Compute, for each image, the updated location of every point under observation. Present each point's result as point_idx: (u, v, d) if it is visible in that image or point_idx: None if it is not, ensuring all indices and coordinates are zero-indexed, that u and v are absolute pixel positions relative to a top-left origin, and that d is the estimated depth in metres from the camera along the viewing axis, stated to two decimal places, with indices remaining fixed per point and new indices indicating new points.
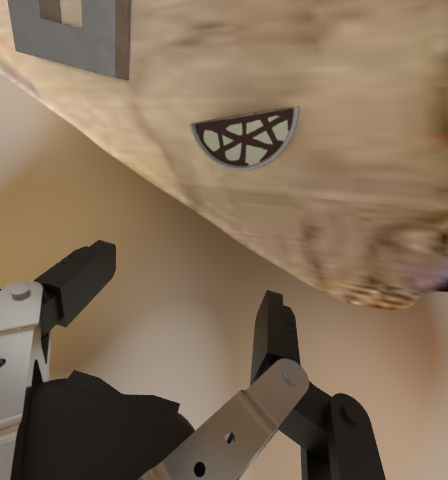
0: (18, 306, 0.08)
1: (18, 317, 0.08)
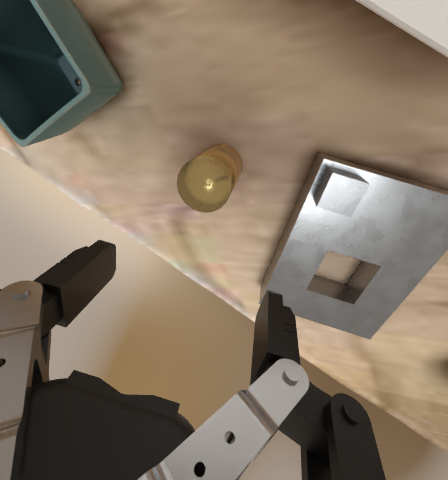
0: (18, 305, 0.08)
1: (18, 317, 0.08)
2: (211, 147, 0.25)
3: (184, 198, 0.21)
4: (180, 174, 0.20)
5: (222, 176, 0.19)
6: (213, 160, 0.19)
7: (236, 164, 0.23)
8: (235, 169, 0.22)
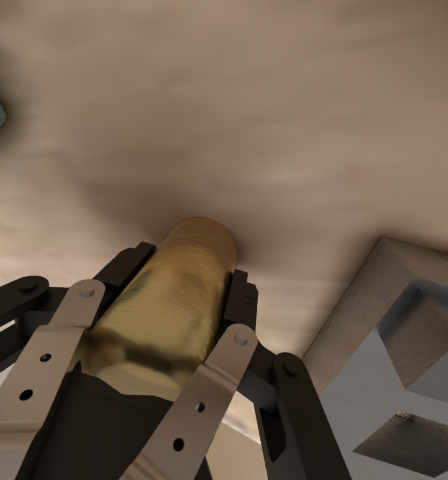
0: (81, 302, 0.09)
1: (77, 314, 0.08)
2: (178, 229, 0.13)
3: None
4: None
5: (186, 361, 0.08)
6: (160, 325, 0.07)
7: (225, 273, 0.12)
8: (222, 293, 0.11)
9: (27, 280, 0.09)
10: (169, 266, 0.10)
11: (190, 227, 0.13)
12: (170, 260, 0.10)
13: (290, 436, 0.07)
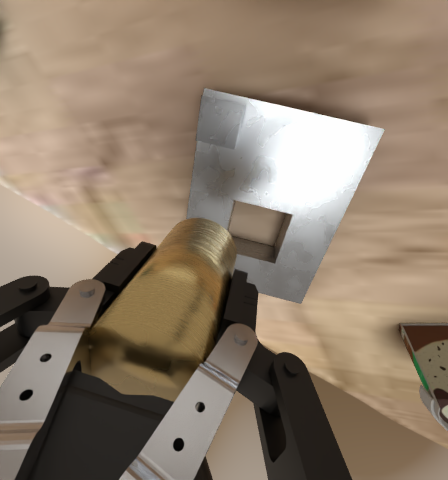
0: (81, 302, 0.09)
1: (77, 314, 0.08)
2: (178, 229, 0.13)
3: None
4: None
5: (184, 361, 0.08)
6: (159, 325, 0.07)
7: (224, 273, 0.12)
8: (221, 293, 0.11)
9: (27, 280, 0.09)
10: (168, 266, 0.10)
11: (189, 227, 0.13)
12: (169, 260, 0.10)
13: (290, 436, 0.07)
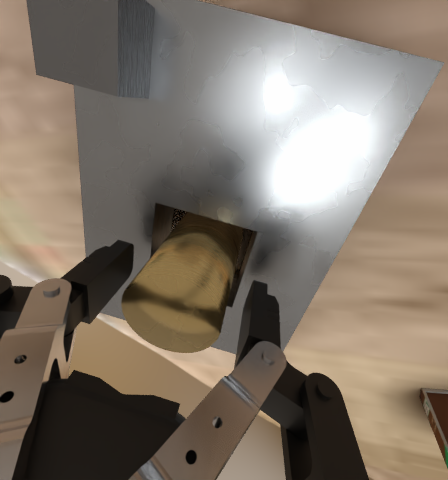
0: (47, 302, 0.08)
1: (45, 314, 0.08)
2: None
3: (138, 330, 0.11)
4: (125, 296, 0.10)
5: (206, 306, 0.10)
6: (186, 276, 0.09)
7: (233, 247, 0.14)
8: (231, 262, 0.13)
9: None
10: (188, 238, 0.12)
11: None
12: (188, 234, 0.12)
13: (316, 462, 0.06)
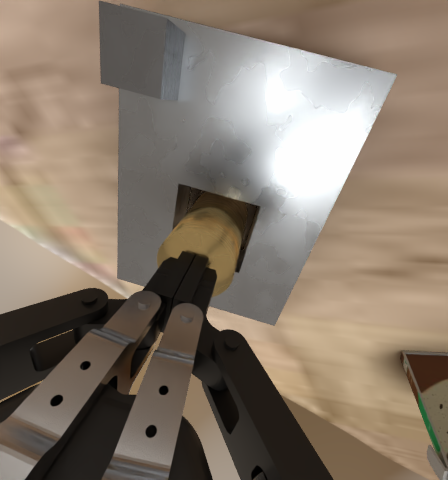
0: (135, 314, 0.09)
1: (128, 325, 0.08)
2: (206, 194, 0.18)
3: None
4: (160, 251, 0.13)
5: (222, 256, 0.13)
6: (208, 233, 0.13)
7: (240, 220, 0.17)
8: (240, 230, 0.16)
9: (90, 293, 0.09)
10: (206, 210, 0.15)
11: None
12: (206, 207, 0.16)
13: (241, 407, 0.07)
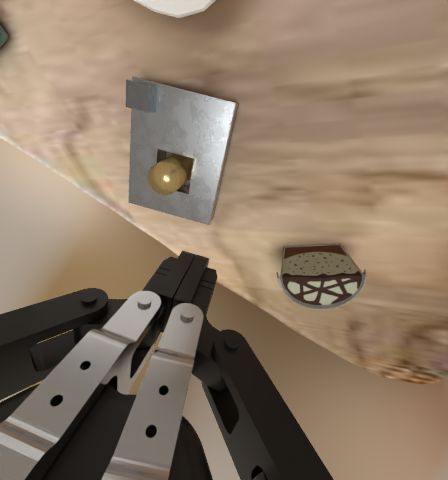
0: (135, 314, 0.09)
1: (128, 325, 0.08)
2: (172, 156, 0.38)
3: (152, 187, 0.34)
4: (149, 172, 0.33)
5: (173, 173, 0.33)
6: (167, 164, 0.33)
7: (186, 166, 0.37)
8: (185, 169, 0.36)
9: (90, 293, 0.09)
10: (169, 159, 0.35)
11: (176, 155, 0.38)
12: (169, 158, 0.35)
13: (241, 407, 0.07)
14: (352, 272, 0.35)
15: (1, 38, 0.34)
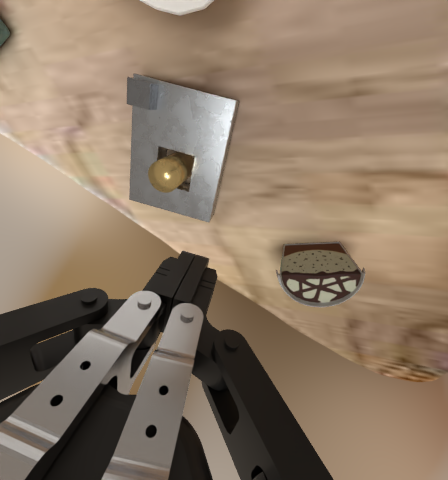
0: (135, 314, 0.09)
1: (128, 325, 0.08)
2: (173, 153, 0.39)
3: (153, 184, 0.34)
4: (149, 170, 0.34)
5: (173, 170, 0.33)
6: (167, 161, 0.33)
7: (187, 163, 0.37)
8: (185, 166, 0.36)
9: (91, 293, 0.09)
10: (169, 156, 0.35)
11: (176, 152, 0.38)
12: (170, 156, 0.36)
13: (241, 407, 0.07)
14: (351, 270, 0.35)
15: (3, 35, 0.34)
